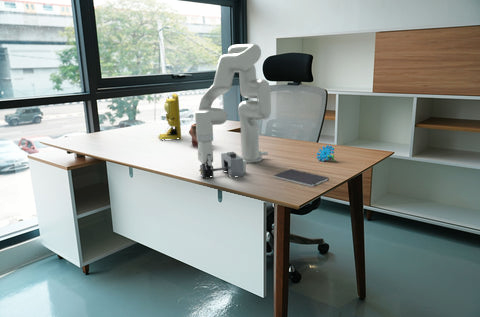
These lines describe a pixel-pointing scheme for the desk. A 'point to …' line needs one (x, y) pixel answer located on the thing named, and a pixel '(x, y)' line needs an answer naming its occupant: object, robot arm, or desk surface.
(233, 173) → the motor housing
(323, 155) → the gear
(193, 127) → the decorative planter
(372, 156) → the desk surface
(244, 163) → the plug
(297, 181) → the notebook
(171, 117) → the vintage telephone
